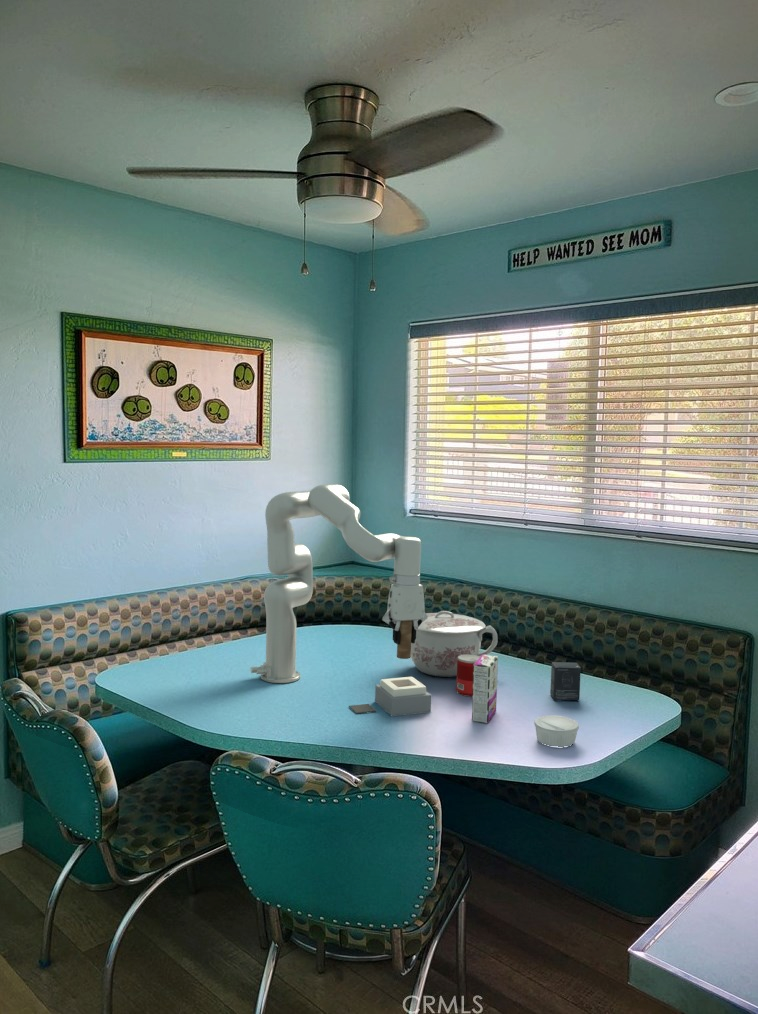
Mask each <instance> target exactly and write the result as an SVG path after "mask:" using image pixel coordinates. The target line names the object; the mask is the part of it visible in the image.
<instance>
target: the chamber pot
mask: <svg viewBox="0 0 758 1014" xmlns="http://www.w3.org/2000/svg"><path fill="white" fill-rule="evenodd" d="M425 613H426V612H425ZM426 615H427V616H428V618H427V619H426V620H425V621H424V622H422V623H421V625H420V626H419V627H418V629H417V630H416V640H415V643H411V658H410V659H411V661H412V662H413V664H414V666H415V668H416V669H417V670H418V671H420V672H421V673H424V674H427V675H429V676H433V677H439V678H454V676H455V677H457V659H458V656H460V655H465V654H469V655H477V656H480V657H481V655H489V654H490V653H491V652H492V651H493V650H494V649H495V648H496V647H497V645H498V642H499V641H498V633H497V631H496V629H495V628H494V627H493V626H492V625H487V626H486V624H485V623H484V621H482V620H480V619H478V618H475V617H471V616H468V615H464V614H459V613H453V612H451V611H448V610H441V611H438V612H427V613H426ZM484 633H490V634H491V635H492V642H491V644H490V646H489V647H488V648H487V649H485V650H483V651H481V643H482V641H483V634H484ZM480 651H481V652H480Z"/></svg>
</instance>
